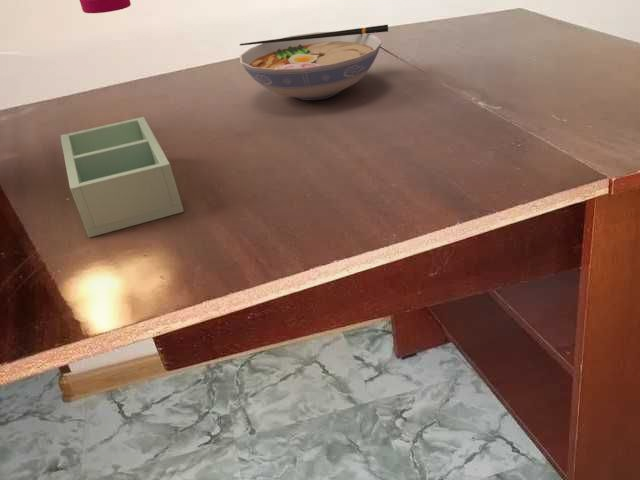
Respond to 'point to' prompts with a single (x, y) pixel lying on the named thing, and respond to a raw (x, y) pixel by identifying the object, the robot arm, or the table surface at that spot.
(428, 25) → the table surface
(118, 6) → the pepper mill
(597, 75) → the table surface
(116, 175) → the green divided box
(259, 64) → the ramen bowl
